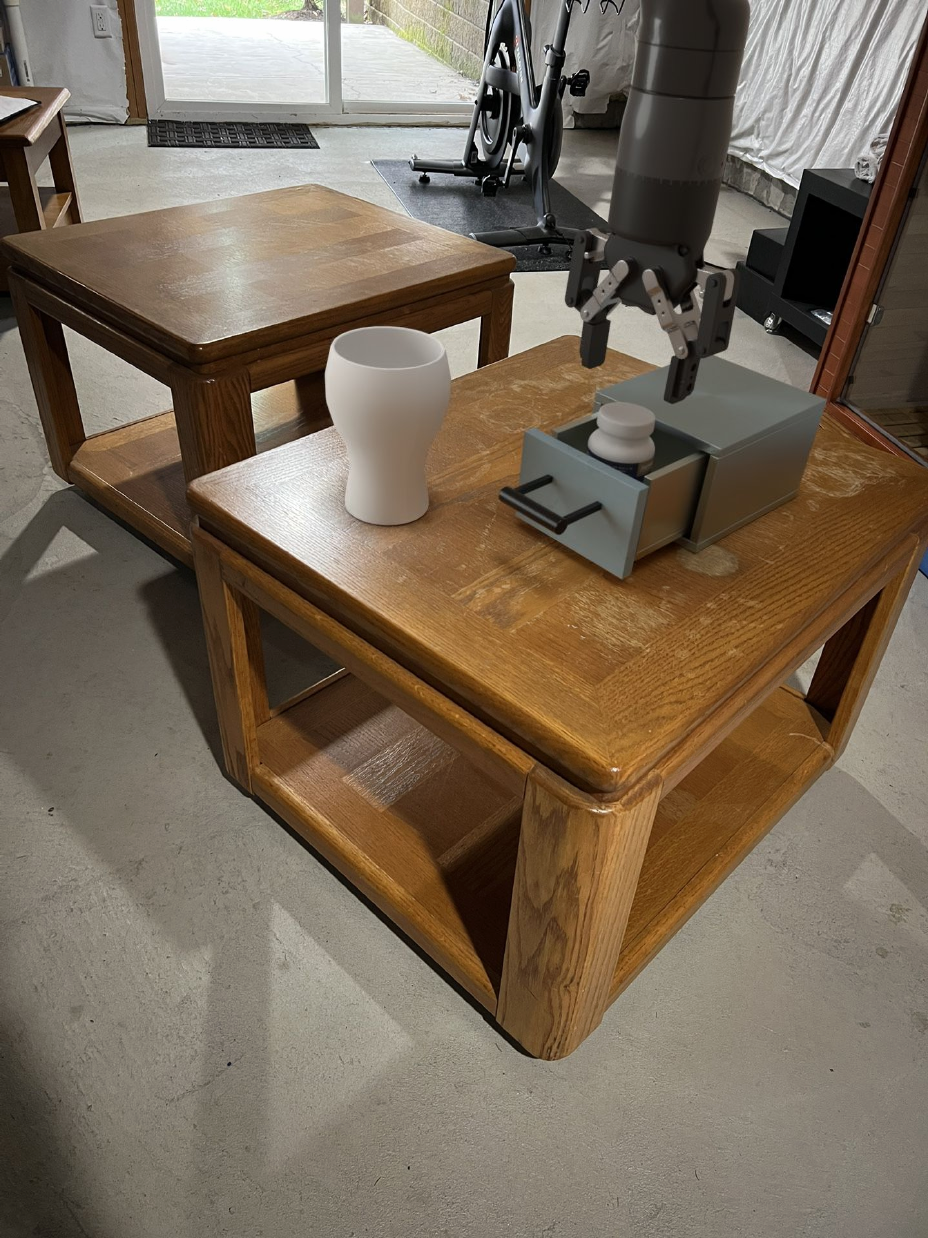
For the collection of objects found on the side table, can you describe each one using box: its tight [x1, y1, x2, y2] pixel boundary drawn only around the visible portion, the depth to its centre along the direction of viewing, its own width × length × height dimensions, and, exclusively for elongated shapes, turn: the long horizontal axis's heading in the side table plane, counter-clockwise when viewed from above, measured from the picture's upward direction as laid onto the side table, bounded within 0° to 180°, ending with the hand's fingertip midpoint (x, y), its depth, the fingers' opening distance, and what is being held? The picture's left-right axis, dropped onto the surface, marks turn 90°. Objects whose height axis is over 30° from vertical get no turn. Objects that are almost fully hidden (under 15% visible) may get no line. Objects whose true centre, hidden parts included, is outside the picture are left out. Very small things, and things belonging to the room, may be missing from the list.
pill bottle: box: [586, 402, 655, 483], centre depth 80 cm, size 6×6×10 cm
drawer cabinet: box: [591, 354, 828, 554], centre depth 88 cm, size 17×14×10 cm
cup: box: [324, 325, 452, 526], centre depth 82 cm, size 11×11×15 cm
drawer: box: [498, 412, 711, 580], centre depth 81 cm, size 21×13×8 cm, turn 132°
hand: (632, 382), depth 75 cm, fingers open, 8 cm apart
